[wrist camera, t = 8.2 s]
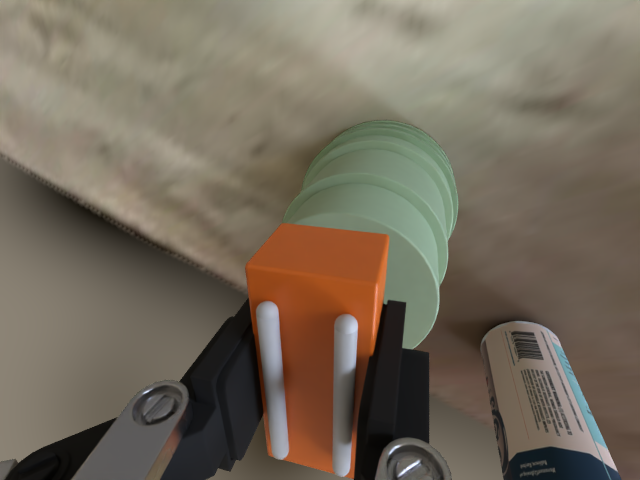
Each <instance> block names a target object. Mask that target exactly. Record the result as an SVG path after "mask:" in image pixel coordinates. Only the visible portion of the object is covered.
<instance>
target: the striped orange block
mask: <svg viewBox="0 0 640 480" xmlns="http://www.w3.org/2000/svg"><path fill="white" fill-rule="evenodd" d="M388 249H389V235H387V234H380V233H371V232H362V231H353V230H343V229H334V228H325V227H316V226H307V225H298V224H289V223H282V224H281V225H280V226H279V227H278V228H277V229H276V230H275V232H274V233H273V234H272V235H271V236H270V237H269V238H268V240H267V241H266V242H265V243H264V244H263V245H262V246H261V248H260V249H259V250H258V251H257V252H256V253H255V254H254V256H253V257H252V258H251V259H250V260H249V261H248V262H247V264H246V266H245V270H246V278H247V286H248V295H249V303H250V311H251V319H252V327H253V334H254V337H255V345H256V353H257V362H258V370H259V378H260V386H261V395H262V403H263V411H264V414H263V417H264V425H265V433H266V441H267V449H268V455H270V456H272V457H275V458H276V459H283V460H287V461H290V462H294V463H298V464H301V465H305V466H308V467H312V468H316V469H319V470H323V471H327V472H330V473H334V474H336V475H338V476H340V477H341V476H342V477H343V476H344V477H349V478H352V479H354V469H355V453H356V438H357V423H358V414H359V407H360V402H361V397H362V391H363V386H364V381H365V376H366V371H367V366H368V361H369V357H370V356H373V354H374V349H375V344H376V339H377V333H378V328H379V322H380V317H381V311H382V306H383V303H384V292H385V281H386V270H387V260H388Z"/></svg>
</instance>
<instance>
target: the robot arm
mask: <svg viewBox="0 0 640 480" xmlns="http://www.w3.org/2000/svg"><path fill="white" fill-rule="evenodd" d="M405 313H406V302H401V301H395V300H388V302H387V304H383V306H382V311H381V317H380V322H379V328H378V333H377V339H376V344H375V349H374V354H373V356H370V357H369V361H368V366H367V371H366V376H365V381H364V386H363V391H362V397H361V402H360V407H359V414H358V423H357V438H356V453H355V469H354V480H452V478H451V472H450V470H449V467H448V465H447V462H446V461H445V460H444V458H443V457H442V456H441V454H440V453H439V452H438V451H437V450H436V449H435V448H433V447H432V446H431V445H430V444H429V353H428V352H423V351H417V350H412V349H406V348H402V345H403V334H404V323H405ZM263 414H264V411H263V403H262V395H261V386H260V378H259V370H258V362H257V353H256V345H255V337H254V334H253V327H252V319H251V311H250V303H249V298H248V299H247V300H246V302H245V303H244V304H243V306H242V307H241V309H240V310H239V311H238V313H237V314H236V315H235V316H234V317H230V318H228V319H227V320H226V321H225V323H224V324H223V325H222V326H221V328H220V329H219V331H218V332H217V333H216V334H215V336H214V337H213V338H212V340H211V341H210V342H209V343H208V345H207V346H206V348H205V349H204V350H203V351H202V353H201V354H200V355H199V356H198V358H197V359H196V361H195V362H194V363H193V364H192V366H191V367H190V368H189V370H188V371H187V372H186V373H185V375H184V376H183V377H182V379H181V380H180V381H179V382H178V381H174V380H164V381H159V382H155V383H153V384H151V385H148V386H146V387H145V388H143V389H142V390H141V391H139V392H138V393H137V394H136V395H135V396H134V397H133V398H132V399H131V400H130V402H129V403H128V404H127V406H126V407H125V409H124V410H123V411H122V412H121V414H120V415H119V416H118V417H117V418H114V419H112V420H109V421H107V422H104V423H102V424H99V425H97V426H94V427H92V428H90V429H87V430H85V431H82V432H80V433H78V434H75V435H72V436H70V437H67V438H65V439H62V440H60V441H58V442H55V443H52V444H50V445H48V446H45V447H43V448H41V449H39V450H37V451H35V452H33V453H31V454H30V455H29V456H27V457H26V458H25V459H23V460H22V461H21V462H19V463H18V462H17V460H16V459H12V460H7V461H2V462H0V480H208V478H210V477H212V476H214V475H215V473H216V471H217V469H218V468H220V469H223V470H226V471H231V469H232V467H233V465H234V463H235V461H236V460H239V461H240V460H241V459H242V458H243V457H244V455H245V453H246V450H247V448H248V446H249V444H250V442H251V440H252V437H253V435H254V433H255V431H256V429H257V426H258V424H259V422H260V420H261V418H262V416H263Z"/></svg>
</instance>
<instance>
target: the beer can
mask: <svg viewBox="0 0 640 480" xmlns="http://www.w3.org/2000/svg"><path fill="white" fill-rule="evenodd" d="M480 350H481V354H482V358H483V363H484V369H485V375H486V381H487V386H488V392H489V398H490V404H491V409H492V415H493V421H494V427H495V432H496V438H497V444H498V450H499V455H500V461H501V466H502V473H503V478H504V480H621V478H620V475H619V473H618V471H617V469H616V467H615V464H614V462H613V460H612V458H611V455H610V453H609V451H608V449H607V447H606V444H605V442H604V440H603V438H602V436H601V433H600V431H599V429H598V427H597V424H596V422H595V420H594V418H593V416H592V413H591V411H590V409H589V407H588V405H587V402H586V400H585V398H584V396H583V393H582V391H581V389H580V387H579V385H578V382H577V380H576V378H575V376H574V374H573V371H572V369H571V367H570V365H569V362H568V360H567V358H566V356H565V354H564V351H563V349H562V347H561V345H560V342H559V340H558V338H557V337H556V335H555V334H554V333H552V332H551V331H550V330H549V329H547V328H546V327H544V326H542V325H539V324H536V323H533V322H525V321H512V322H507V323H504V324H501V325H498V326H496V327H495V328H493V329H491V330H490V331H489V332H488V333H487V334H486V335H485V336H484V338H483V339H482V342H481V347H480Z"/></svg>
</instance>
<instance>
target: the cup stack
mask: <svg viewBox="0 0 640 480" xmlns="http://www.w3.org/2000/svg"><path fill="white" fill-rule="evenodd" d="M457 214H458V195H457V190H456V185H455V180H454V175H453V170H452V167H451V165H450V162H449V160H448V158H447V156H446V154H445V153H444V151H443V150H442V149H441V147H440V146H439V145H438V144H437V143H436V142H435V141H434V140H433V139H432V138H431V137H430V136H428V135H427V134H426V133H425V132H423V131H421V130H419V129H418V128H416V127H413V126H411V125H408V124H406V123H401V122H397V121H389V120H376V121H370V122H365V123H362V124H359V125H356V126H354V127H352V128H350V129H348V130H346V131H344V132H343V133H341V134H340V135H339V136H338V137H336V138H335V139H334V140H333V141H332V142H331V143H330V144H328V145H327V146H326V147H325V148H324V149H323V150H322V151H321V152H320V153H319V154H318V155H317V156H316V157H315V159H314V160H313V162H312V163H311V165H310V166H309V168H308V170H307V172H306V175H305V178H304V181H303V184H302V190H301V192H300V193H299V195H298V196H297V197H296V198H295V199H294V200H293V201H292V203H291V204H290V206H289V207H288V209H287V211H286V213H285V215H284V218H283V221H282V223H289V224H298V225H307V226H316V227H325V228H334V229H343V230H353V231H362V232H371V233H380V234H387V235H389V249H388V260H387V270H386V281H385V292H384V303H383V304H387V302H388V300H395V301H401V302H406V313H405V323H404V334H403V345H402V348H406V349H413V348H415V347H416V346H417V345H418V344H420V342H421V341H422V340H423V339H424V338H425V337H426V336H427V334H428V333H429V332H430V330H431V329H432V327H433V324H434V322H435V320H436V317H437V313H438V309H439V286H440V285H441V283H442V280H443V278H444V276H445V272H446V269H447V264H448V242H447V241H448V239H449V238H450V236H451V234H452V231H453V229H454V227H455V223H456V219H457Z"/></svg>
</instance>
